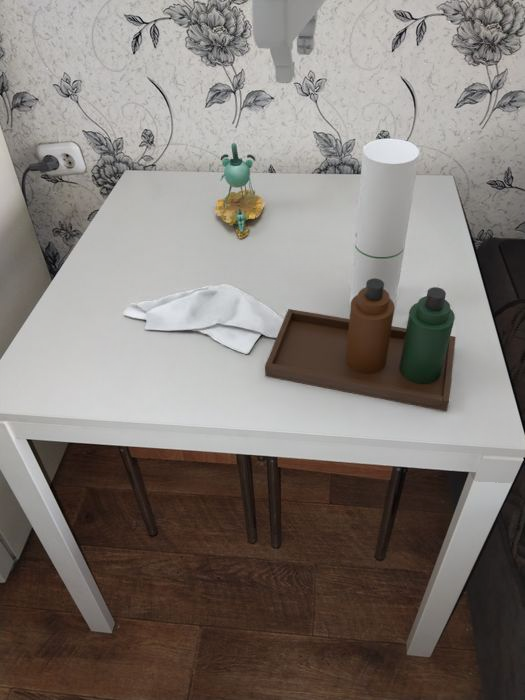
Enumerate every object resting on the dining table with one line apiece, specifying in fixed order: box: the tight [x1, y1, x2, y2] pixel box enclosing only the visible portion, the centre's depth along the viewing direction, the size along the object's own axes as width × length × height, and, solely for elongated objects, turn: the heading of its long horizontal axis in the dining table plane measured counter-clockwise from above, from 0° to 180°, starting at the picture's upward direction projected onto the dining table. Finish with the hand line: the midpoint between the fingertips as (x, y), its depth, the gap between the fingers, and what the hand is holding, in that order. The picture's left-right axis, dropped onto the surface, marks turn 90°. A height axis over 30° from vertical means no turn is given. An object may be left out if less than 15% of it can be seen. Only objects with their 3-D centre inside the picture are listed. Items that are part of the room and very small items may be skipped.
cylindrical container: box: [349, 138, 420, 307], centre depth 84 cm, size 7×7×25 cm
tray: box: [264, 308, 457, 412], centre depth 83 cm, size 25×13×2 cm, turn 73°
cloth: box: [122, 283, 285, 355], centre depth 91 cm, size 26×14×2 cm, turn 67°
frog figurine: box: [214, 142, 266, 239], centre depth 109 cm, size 10×18×15 cm, turn 169°
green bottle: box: [400, 286, 456, 384], centre depth 77 cm, size 6×6×14 cm
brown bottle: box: [346, 278, 396, 374], centre depth 78 cm, size 6×6×14 cm
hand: (295, 66), depth 68 cm, fingers open, 8 cm apart
